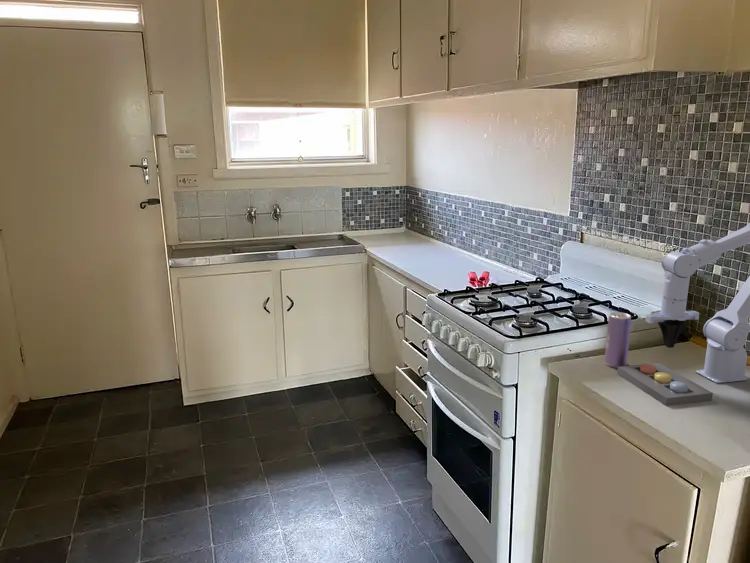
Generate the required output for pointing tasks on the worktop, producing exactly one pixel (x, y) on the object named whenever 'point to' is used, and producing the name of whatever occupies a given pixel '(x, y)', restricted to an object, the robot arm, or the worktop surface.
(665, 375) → the ochre button
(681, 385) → the slate button
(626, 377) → the panel
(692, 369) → the worktop surface
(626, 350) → the beverage can
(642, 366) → the brick button
